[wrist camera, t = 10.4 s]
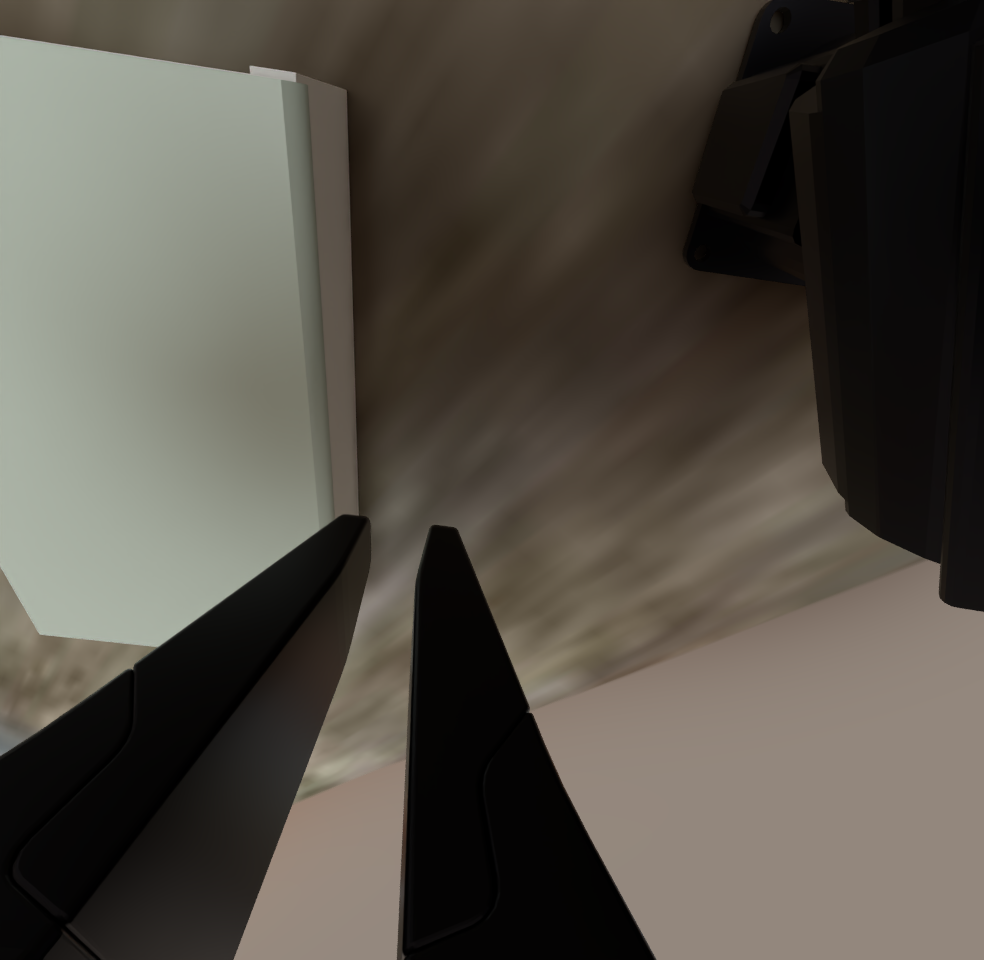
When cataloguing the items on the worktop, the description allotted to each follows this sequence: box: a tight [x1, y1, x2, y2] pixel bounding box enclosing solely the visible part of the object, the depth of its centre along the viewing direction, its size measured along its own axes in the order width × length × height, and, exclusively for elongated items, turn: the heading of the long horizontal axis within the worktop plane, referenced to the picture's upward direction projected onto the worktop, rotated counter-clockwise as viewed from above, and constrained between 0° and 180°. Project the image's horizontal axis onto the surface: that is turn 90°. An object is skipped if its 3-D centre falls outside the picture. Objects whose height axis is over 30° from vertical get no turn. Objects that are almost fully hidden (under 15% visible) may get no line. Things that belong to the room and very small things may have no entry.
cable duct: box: [0, 35, 359, 519], centre depth 18 cm, size 12×20×4 cm, turn 173°
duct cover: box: [0, 36, 335, 647], centre depth 16 cm, size 12×20×1 cm, turn 173°
